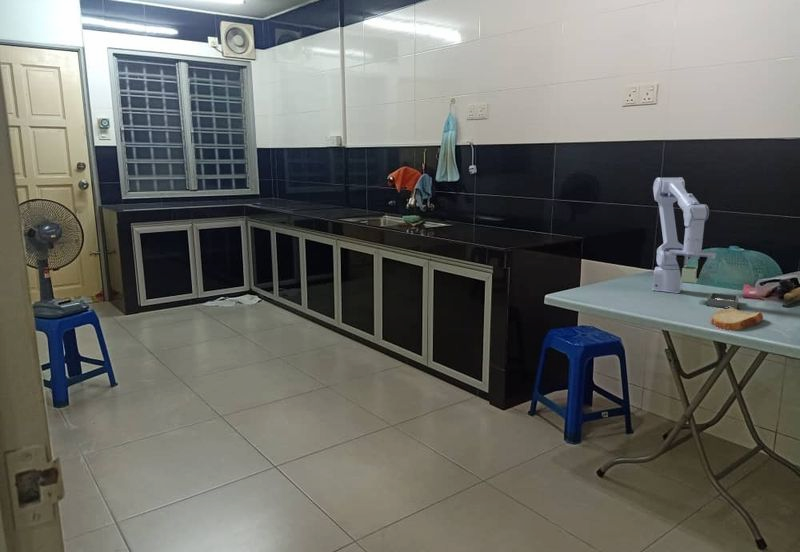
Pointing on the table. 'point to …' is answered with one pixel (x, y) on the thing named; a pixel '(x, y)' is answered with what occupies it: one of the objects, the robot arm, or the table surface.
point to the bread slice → (735, 319)
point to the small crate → (689, 274)
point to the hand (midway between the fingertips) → (689, 277)
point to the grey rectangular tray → (722, 303)
